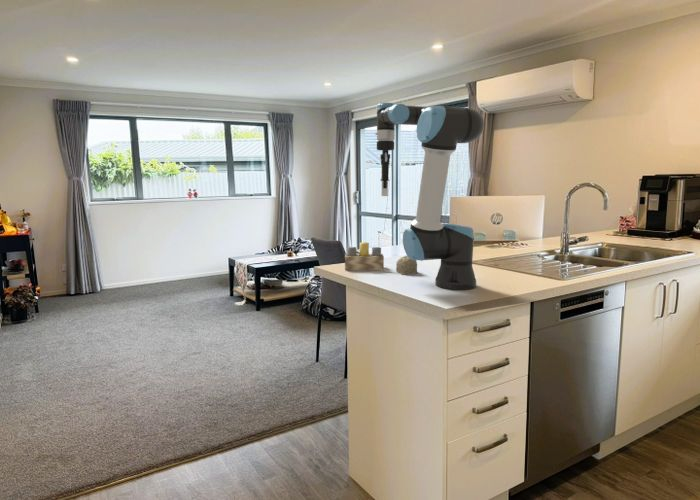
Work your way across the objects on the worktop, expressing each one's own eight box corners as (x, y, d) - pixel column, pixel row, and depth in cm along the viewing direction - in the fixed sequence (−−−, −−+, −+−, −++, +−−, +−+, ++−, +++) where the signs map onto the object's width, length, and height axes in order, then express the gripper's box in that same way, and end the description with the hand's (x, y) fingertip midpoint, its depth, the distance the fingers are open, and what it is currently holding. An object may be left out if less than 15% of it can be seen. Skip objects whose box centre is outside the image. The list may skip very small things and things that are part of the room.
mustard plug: (370, 263, 209) (370, 243, 207) (362, 263, 207) (362, 243, 206) (365, 261, 212) (366, 242, 211) (358, 262, 211) (358, 242, 209)
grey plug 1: (357, 267, 209) (357, 247, 208) (349, 268, 207) (349, 248, 206) (353, 266, 213) (353, 246, 211) (345, 266, 211) (345, 247, 210)
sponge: (403, 283, 198) (416, 266, 193) (388, 269, 202) (399, 251, 197) (414, 280, 205) (426, 263, 201) (399, 265, 209) (411, 248, 204)
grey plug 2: (382, 267, 209) (382, 248, 208) (374, 268, 207) (374, 248, 206) (377, 266, 213) (378, 246, 211) (370, 267, 211) (370, 247, 209)
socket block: (382, 266, 214) (382, 253, 213) (383, 270, 206) (383, 256, 205) (345, 266, 214) (345, 253, 213) (344, 270, 206) (345, 256, 205)
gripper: (376, 141, 207) (375, 195, 211) (377, 139, 194) (376, 196, 198) (392, 141, 207) (391, 195, 211) (395, 139, 194) (394, 196, 198)
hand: (384, 196), depth 204 cm, fingers closed
